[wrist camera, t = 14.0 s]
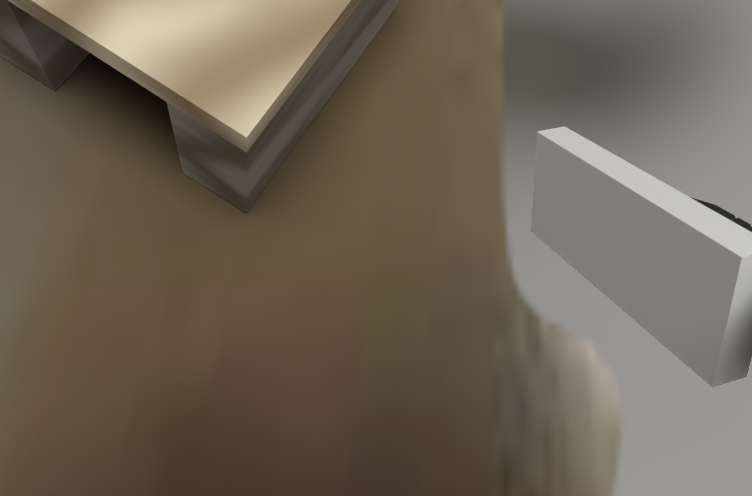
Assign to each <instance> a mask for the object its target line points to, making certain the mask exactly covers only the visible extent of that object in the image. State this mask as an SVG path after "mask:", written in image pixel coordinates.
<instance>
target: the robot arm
mask: <svg viewBox="0 0 752 496" xmlns="http://www.w3.org/2000/svg"><path fill="white" fill-rule="evenodd" d="M531 231H532V232H533V233H534V234H535V235H536V236H537V237H538V238H540V239H541V240H542V241H543V242H544V243H545V244H547V245H548V246H549V247H550V248H551V249H552V250H554V251H555V252H556V253H557V254H558V255H559V256H561V257H562V258H563V259H564V260H565V261H566V262H567V263H569V264H570V265H571V266H572V267H573V268H574V269H576V270H577V271H578V272H579V273H580V274H581V275H583V276H584V277H585V278H586V279H587V280H588V281H590V282H591V283H592V284H593V285H594V286H595V287H597V288H598V289H599V290H600V291H601V292H602V293H603V294H605V295H606V296H607V297H608V298H609V299H610V300H612V301H613V302H614V303H615V304H616V305H617V306H619V307H620V308H621V309H622V310H623V311H624V312H626V313H627V314H628V315H629V316H630V317H631V318H632V319H634V320H635V321H636V322H637V323H638V324H639V325H641V326H642V327H643V328H644V329H645V330H647V331H648V332H649V333H650V334H651V335H652V336H654V337H655V338H656V339H657V340H658V341H659V342H660V343H662V344H663V345H664V346H665V347H666V348H667V349H668V350H670V351H671V352H672V353H673V354H674V355H675V356H677V357H678V358H679V359H680V360H681V361H682V362H684V363H685V364H686V365H687V366H688V367H689V368H691V369H692V370H693V371H694V372H695V373H696V374H698V375H699V376H700V377H701V378H702V379H703V380H704V381H706V382H707V383H708V384H709V385H710V386H712V387H715V386H718V385H721V384H724V383H727V382H731V381H734V380H737V379H741V378H744V377H746V376H747V373H748V369H749V365H750V361H751V357H752V227H751V225H750V224H749V223H747V222H745V221H743V220H741V219H740V218H737V219H736V218H735V216H734V215H732V214H731V213H729V212H727V211H725V210H723V209H722V208H720V207H718V206H716V205H714V204H710V203H707V202H704V201H700V200H697V199H694V198H691V197H688V196H687V195H685V194H683V193H681V192H680V191H678V190H676V189H674V188H672V187H670V186H669V185H667V184H665V183H663V182H662V181H660V180H658V179H657V178H655V177H653V176H651V175H649V174H648V173H646V172H644V171H642V170H640V169H639V168H637V167H635V166H634V165H632V164H630V163H628V162H626V161H625V160H623V159H621V158H619V157H618V156H616V155H614V154H612V153H610V152H609V151H607V150H605V149H603V148H602V147H600V146H598V145H596V144H595V143H593V142H591V141H589V140H587V139H586V138H584V137H582V136H580V135H579V134H577V133H575V132H573V131H572V130H570V129H568V128H566V127H559V128H554V129H548V130H544V131H538V132H537V139H536V156H535V174H534V192H533V210H532V228H531Z"/></svg>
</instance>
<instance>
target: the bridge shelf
mask: <svg viewBox="0 0 752 496" xmlns="http://www.w3.org/2000/svg"><path fill="white" fill-rule="evenodd" d="M398 1H399V0H0V57H2V58H3V59H5V60H6V61H8V62H10V63H11V64H13V65H14V66H16V67H17V68H19V69H21V70H22V71H24V72H25V73H27V74H28V75H30V76H31V77H33V78H35V79H36V80H38V81H39V82H41V83H42V84H44V85H46V86H47V87H49V88H50V89H52V90H53V91H56V90H57V89H58V88H59V87H60V86H61V85H62V83H63V82H64V81H65V80H66V79H67V78H68V77H69V76H70V75H71V74H72V72H73V71H74V70H75V69H76V68H77V67H78V66H79V65H80V64H81V62H82V61H83V60H84V59H85V58H86V57H87V56H88V55H89V54H90V53H91V54H93V55H94V56H96V57H97V58H99V59H100V60H102V61H103V62H105V63H107V64H108V65H110V66H111V67H113V68H114V69H116V70H118V71H119V72H121V73H122V74H124V75H125V76H127V77H129V78H130V79H132V80H133V81H135V82H136V83H138V84H140V85H141V86H143V87H144V88H146V89H147V90H149V91H151V92H152V93H154V94H155V95H157V96H158V97H160V98H162V99H163V100H165V101H166V102H167V106H168V111H169V115H170V119H171V124H172V128H173V133H174V137H175V141H176V146H177V150H178V155H179V159H180V164H181V168H182V172H183V173H184V174H185V175H187V176H188V177H190V178H192V179H193V180H195V181H196V182H198V183H199V184H201V185H203V186H204V187H206V188H207V189H209V190H210V191H212V192H214V193H215V194H217V195H218V196H220V197H221V198H223V199H224V200H226V201H228V202H229V203H231V204H232V205H234V206H235V207H237V208H239V209H240V210H242V211H243V212H245V213H247V212H248V210H249V209H250V208H251V206H252V205H253V203H254V202H255V201H256V199H257V198H258V197H259V195H260V194H261V192H262V191H263V190H264V188H265V187H266V186H267V184H268V183H269V181H270V180H271V179H272V177H273V176H274V175H275V173H276V172H277V170H278V169H279V168H280V166H281V165H282V163H283V162H284V161H285V159H286V158H287V157H288V155H289V154H290V152H291V151H292V150H293V148H294V147H295V146H296V144H297V143H298V141H299V140H300V139H301V137H302V136H303V135H304V133H305V132H306V130H307V129H308V128H309V126H310V125H311V124H312V122H313V121H314V119H315V118H316V117H317V115H318V114H319V113H320V111H321V110H322V108H323V107H324V106H325V104H326V103H327V102H328V100H329V99H330V97H331V96H332V95H333V93H334V92H335V91H336V89H337V88H338V86H339V85H340V84H341V82H342V81H343V80H344V78H345V77H346V75H347V74H348V73H349V71H350V70H351V69H352V67H353V66H354V64H355V63H356V62H357V60H358V59H359V58H360V56H361V55H362V53H363V52H364V51H365V49H366V48H367V47H368V45H369V44H370V42H371V41H372V40H373V38H374V37H375V36H376V34H377V33H378V31H379V30H380V29H381V27H382V26H383V25H384V23H385V22H386V20H387V19H388V18H389V16H390V15H391V14H392V12H393V11H394V9H395V8H396V7H397V4H398Z"/></svg>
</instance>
